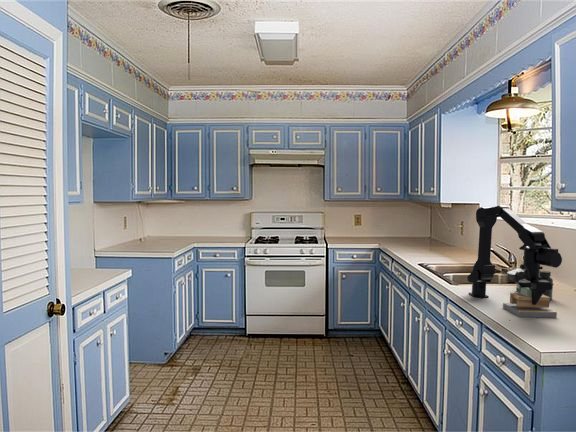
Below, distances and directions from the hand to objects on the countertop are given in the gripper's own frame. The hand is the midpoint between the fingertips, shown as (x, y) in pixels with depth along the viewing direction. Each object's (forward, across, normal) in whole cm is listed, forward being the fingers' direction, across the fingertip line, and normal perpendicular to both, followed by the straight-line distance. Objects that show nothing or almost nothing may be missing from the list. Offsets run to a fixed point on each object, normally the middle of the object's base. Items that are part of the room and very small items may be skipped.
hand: (529, 302), depth 165 cm
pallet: (+1, 0, 0) cm, 1 cm away
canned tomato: (+4, -33, +18) cm, 38 cm away
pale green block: (-3, 0, 0) cm, 3 cm away
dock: (+4, 0, 0) cm, 4 cm away
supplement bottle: (+4, -23, +20) cm, 31 cm away
